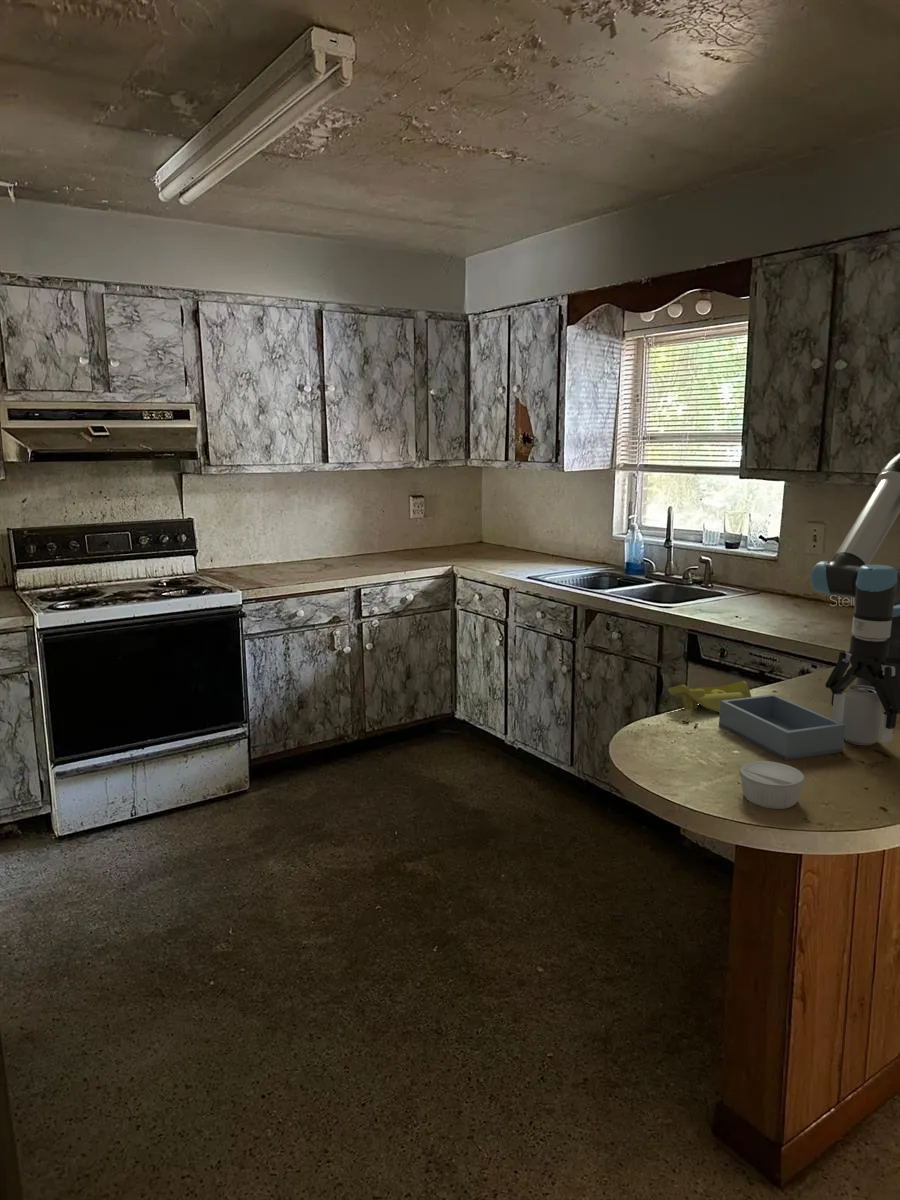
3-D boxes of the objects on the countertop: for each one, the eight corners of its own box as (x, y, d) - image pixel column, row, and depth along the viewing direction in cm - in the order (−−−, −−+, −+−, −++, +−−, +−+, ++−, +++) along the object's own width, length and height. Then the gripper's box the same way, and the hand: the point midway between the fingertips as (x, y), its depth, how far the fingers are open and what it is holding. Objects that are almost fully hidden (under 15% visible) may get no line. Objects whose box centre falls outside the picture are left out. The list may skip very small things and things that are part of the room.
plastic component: (721, 686, 216) (749, 679, 207) (727, 715, 214) (755, 709, 206) (660, 690, 208) (686, 683, 199) (665, 720, 206) (691, 714, 197)
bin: (771, 718, 199) (774, 694, 198) (842, 751, 179) (845, 724, 177) (718, 725, 194) (720, 700, 193) (785, 760, 174) (787, 732, 172)
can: (886, 744, 183) (892, 692, 180) (857, 748, 180) (863, 695, 178) (860, 733, 190) (866, 682, 187) (833, 736, 187) (838, 684, 185)
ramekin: (741, 809, 152) (744, 781, 150) (734, 784, 162) (736, 758, 161) (807, 815, 149) (810, 787, 148) (795, 789, 160) (798, 763, 159)
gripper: (814, 625, 191) (805, 715, 195) (904, 652, 168) (893, 753, 172) (840, 623, 193) (831, 711, 197) (933, 649, 170) (921, 749, 174)
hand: (860, 731), depth 185 cm, fingers open, 13 cm apart
